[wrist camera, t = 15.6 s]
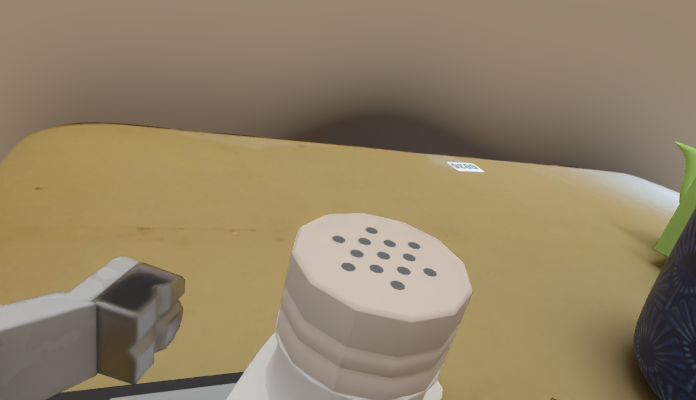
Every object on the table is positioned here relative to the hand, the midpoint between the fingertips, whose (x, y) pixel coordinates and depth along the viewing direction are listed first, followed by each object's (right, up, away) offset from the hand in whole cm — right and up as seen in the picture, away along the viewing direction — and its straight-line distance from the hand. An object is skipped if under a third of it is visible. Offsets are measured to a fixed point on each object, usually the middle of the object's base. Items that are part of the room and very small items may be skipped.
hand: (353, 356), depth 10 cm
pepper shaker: (-2, -6, +2) cm, 7 cm away
